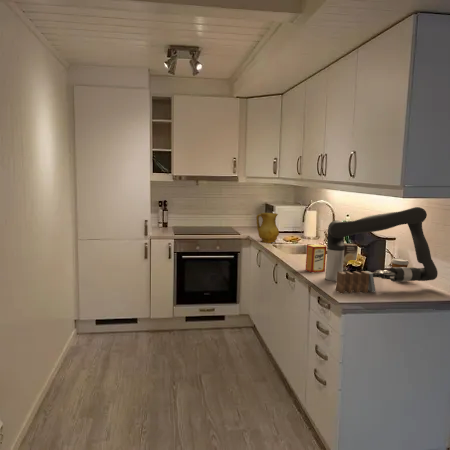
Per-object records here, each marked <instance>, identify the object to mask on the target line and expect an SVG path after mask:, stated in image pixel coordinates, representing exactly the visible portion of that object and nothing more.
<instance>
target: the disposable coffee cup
mask: <svg viewBox="0 0 450 450" xmlns="http://www.w3.org/2000/svg"><path fill="white" fill-rule="evenodd" d="M390 262H391V268H392V267H407V268H408V267H409V266H408V265H409V264H410V262H409V260H408V259H406V258H401V257H394V258H392V259H391V260H390Z"/></svg>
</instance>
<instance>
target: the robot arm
mask: <svg viewBox="0 0 450 450" xmlns="http://www.w3.org/2000/svg"><path fill="white" fill-rule="evenodd" d="M427 216H428V215H427V211H426V210H425V209H424V208H422V207H420V206H414V207H411V208H407V209H404V210H400V211H392V212H382V213H376V214H370V215H367V216H364V217H361V218H358V219H356V220H350V221H349V220H348V221H340V220H333V221H331V222H330V223H329V225H328V228H327V239H326V242H327V243H326V244H327V245H326V260H325V274H324V275H325V276H324V278H325V279H326V281H332V282H337V272H342V273H344V272H343V271H344V270H343V260H344V247H345V246H344V243H345V238H346V237H348V236H352V235H356V234H366V233H375V232H380V231H384V230H385V231H386V230H388V229H392V228H395V227H397V226H402V225H407V227H408V228H409V231H410V234H411V237H412V240H413V245H414V249H415V256H416V260H417V262H418V263H419V264H422V265H423V267H408V266H407V267H392V266H391V268H390V269H385V270H381V269H377V270H375V271H374V272H371V271H370V272H371V273H373V278H379V279H384V280H389V281H392V282H393V283H399V282H400V283H402V282H416V281H418V282H427V281H434V280H436V279H437V278H438V269H437V266H436V265H435V262H434V260H433V258H432V254H431V250H430V246H429V244H428V241H427V239H426V236H425V234H424V229H423V222H425V221H426V218H427Z"/></svg>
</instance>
